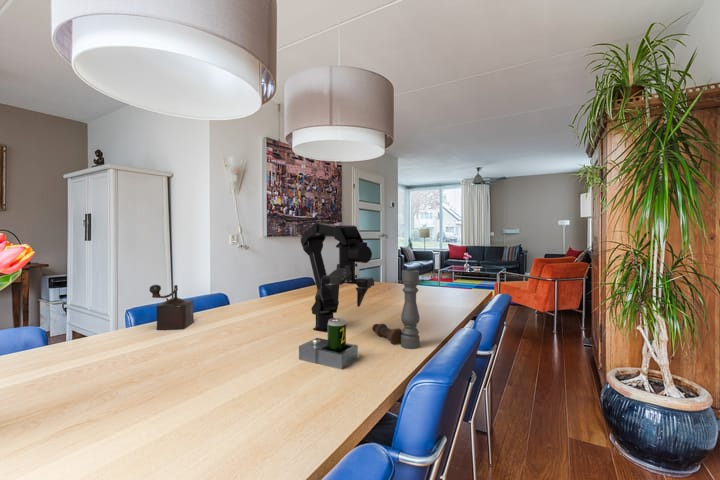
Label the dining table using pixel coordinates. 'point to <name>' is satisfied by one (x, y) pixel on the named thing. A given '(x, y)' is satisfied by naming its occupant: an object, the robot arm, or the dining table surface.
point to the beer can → (336, 335)
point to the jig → (327, 354)
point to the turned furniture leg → (410, 310)
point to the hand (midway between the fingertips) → (347, 305)
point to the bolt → (388, 333)
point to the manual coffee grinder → (173, 311)
